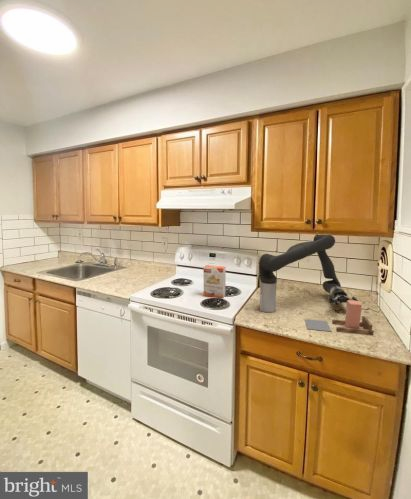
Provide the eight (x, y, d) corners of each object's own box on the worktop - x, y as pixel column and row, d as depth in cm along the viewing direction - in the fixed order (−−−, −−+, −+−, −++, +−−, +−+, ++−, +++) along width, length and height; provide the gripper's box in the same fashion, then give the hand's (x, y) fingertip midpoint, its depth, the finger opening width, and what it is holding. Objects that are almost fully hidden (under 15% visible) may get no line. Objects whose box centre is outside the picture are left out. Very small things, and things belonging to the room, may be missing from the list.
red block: (347, 330, 126) (350, 304, 124) (344, 325, 131) (347, 300, 129) (358, 331, 125) (361, 304, 123) (355, 326, 130) (358, 300, 128)
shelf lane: (336, 331, 126) (337, 322, 125) (331, 322, 135) (332, 313, 134) (373, 335, 122) (374, 325, 121) (365, 325, 131) (366, 316, 130)
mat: (307, 329, 128) (307, 328, 128) (304, 319, 138) (304, 319, 138) (331, 331, 125) (331, 331, 125) (326, 321, 136) (326, 320, 136)
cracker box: (203, 296, 174) (202, 266, 170) (206, 293, 179) (206, 264, 175) (223, 299, 169) (223, 268, 165) (225, 295, 174) (225, 266, 170)
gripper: (325, 287, 154) (332, 297, 138) (352, 289, 151) (361, 299, 135) (324, 299, 155) (331, 310, 140) (350, 301, 152) (360, 312, 136)
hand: (346, 304), depth 137 cm, fingers open, 8 cm apart
